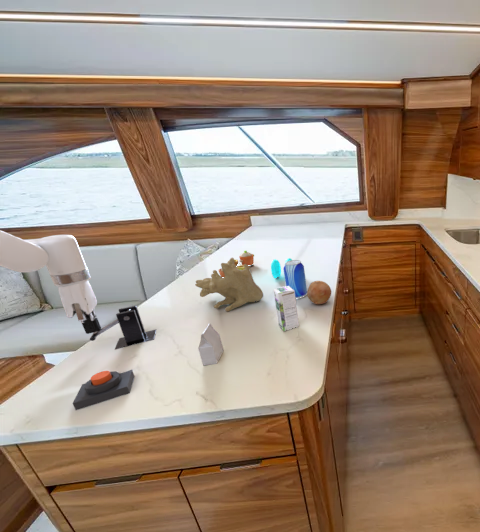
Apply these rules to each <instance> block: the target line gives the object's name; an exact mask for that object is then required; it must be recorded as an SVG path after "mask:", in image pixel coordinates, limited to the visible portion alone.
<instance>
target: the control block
mask: <svg viewBox="0 0 480 532" xmlns="http://www.w3.org/2000/svg"><path fill="white" fill-rule="evenodd" d="M110 373H111V376H112V379H110V380H109V381H107V382H105V383H103V384H99V385H93V384H92V381H91V378H90V379H88V380H87V381H86V382H84V383H82V384H81V385H80V388H79V390H78V392H77V394H76V396H75V398H74V400H73V402H72V405H73V407H74V410H75V411H78V410H82V409H85V408H88V407H91V406H94V405H97V404H100V403H103V402H107V401H110V400H112V399H116V398H120V397H122V396H126V395H128V394H131V390H132V387H133V383H134V379H135V374H134V371H133V369H130V370H127V371H123V372H119V371H110Z"/></svg>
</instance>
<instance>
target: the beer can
mask: <svg viewBox="0 0 480 532" xmlns="http://www.w3.org/2000/svg"><path fill="white" fill-rule="evenodd" d="M283 276H284V282H285V286H290V287H291V288H292V289H293V290H294V291H295V298H300V297H303V296H305V295H307V291H308V288H307V280H306V271H305V266H304V264H303V263H302V261H301V260H300V259H292V260H291V261H287V262H285V261H284V266H283ZM305 297H306V296H305Z"/></svg>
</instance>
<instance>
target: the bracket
mask: <svg viewBox="0 0 480 532" xmlns="http://www.w3.org/2000/svg"><path fill="white" fill-rule="evenodd" d="M128 309H131V311H127V310H128ZM125 311H127V312H125ZM115 316H116V320H117V319H118V322H119V323H118V324H119V327H120V330H121V332H122V335H123V337H119V338H118V340H117V343H116V345H115V347H114V350H119V349H123V348H127V347H131V346H135V345H138V344H142V343H147V342H151V341H154V340H155V338H156V334H157V329H151V330H148V331H146V329H145V328H144V324H143V321H142V317H141V315H140V312H139V309H138V306H137V305H132V306H127V307H121V308H118V312H117V313H116V314H115Z"/></svg>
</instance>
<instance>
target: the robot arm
mask: <svg viewBox="0 0 480 532" xmlns="http://www.w3.org/2000/svg"><path fill="white" fill-rule="evenodd" d="M0 267H2V268H5V269H8V270H10V271H12V272H16V273H33V272H37V271H39V270H41V269H43V268H45V267H46V270H47V272H48V273H49V276H50V278H51V280H52V283H53V285H54V286H55V287H57V290H58V294H59V298H60V301H61V304H62V307H63V309H64V312H65V315H66V317H67V318H68V319H72V318H73V317H74V316H75V315H76V318H77V320H78V322H80V323H81V325H82V328H83V330H84V332H85V334H87V335H89V334H93V333H94V332H98V331H100V329H102V326H101V324H100V322H99V318H98V317H97V314H96V311H95V308H96V306H97V305H98V300H97V297H96V294H95V292H94V289H93V287H92V285H91V283H90V280H92V276H91V274H90V271H89V269H88V266H87V264H86V261H85V259H84V256H83V254H82V251H81V248H80V246H79V244H78V241H77V239H76V237H74V236H73V235H72V234H56V235H55V234H54V235H49V236H44V237H40V238H29V239H22V238H21V237H18V236H15V235H13V234H11V233H9V232H6V231H3V230H1V229H0Z"/></svg>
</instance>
